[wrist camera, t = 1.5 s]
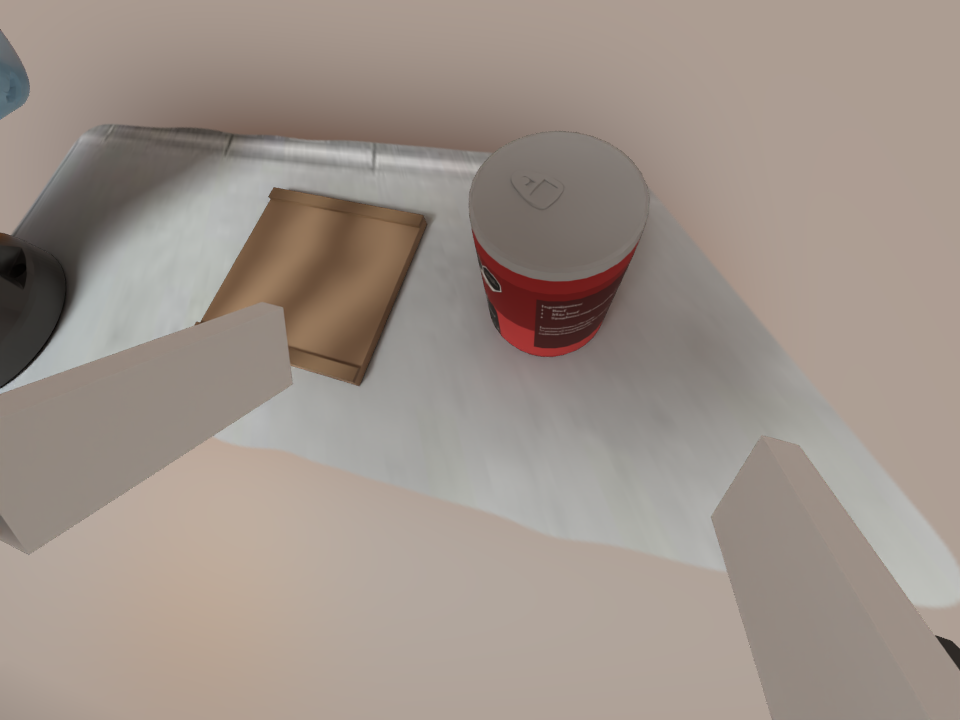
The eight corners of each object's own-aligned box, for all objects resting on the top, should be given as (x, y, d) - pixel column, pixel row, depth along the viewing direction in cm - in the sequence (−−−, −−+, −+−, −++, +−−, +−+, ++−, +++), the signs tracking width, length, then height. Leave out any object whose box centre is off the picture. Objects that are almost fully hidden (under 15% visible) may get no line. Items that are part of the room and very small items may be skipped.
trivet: (201, 338, 29) (189, 333, 28) (281, 196, 33) (273, 187, 32) (359, 386, 26) (352, 381, 25) (426, 224, 30) (423, 215, 29)
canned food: (515, 249, 28) (509, 112, 18) (618, 283, 26) (677, 153, 16) (471, 334, 27) (435, 236, 16) (578, 378, 25) (615, 299, 14)
